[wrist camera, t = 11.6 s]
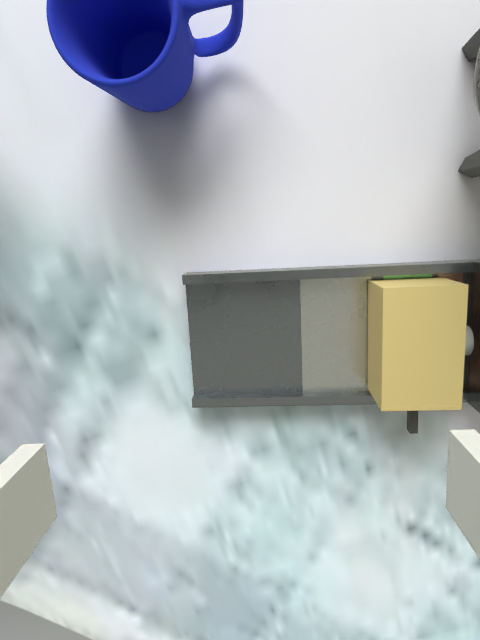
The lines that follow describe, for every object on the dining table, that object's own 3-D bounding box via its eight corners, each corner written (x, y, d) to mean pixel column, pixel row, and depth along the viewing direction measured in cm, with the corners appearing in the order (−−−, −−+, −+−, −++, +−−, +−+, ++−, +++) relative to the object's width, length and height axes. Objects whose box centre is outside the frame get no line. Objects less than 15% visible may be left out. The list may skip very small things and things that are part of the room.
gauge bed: (196, 398, 41) (192, 407, 39) (187, 272, 39) (182, 275, 37) (491, 392, 39) (503, 401, 37) (500, 258, 37) (514, 260, 35)
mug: (259, 100, 36) (254, 52, 26) (120, 134, 37) (66, 100, 27) (239, -9, 34) (226, -105, 24) (95, 29, 36) (28, -46, 26)
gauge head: (367, 416, 39) (381, 443, 34) (368, 280, 37) (383, 288, 32) (450, 415, 38) (476, 442, 34) (457, 276, 36) (486, 284, 31)
